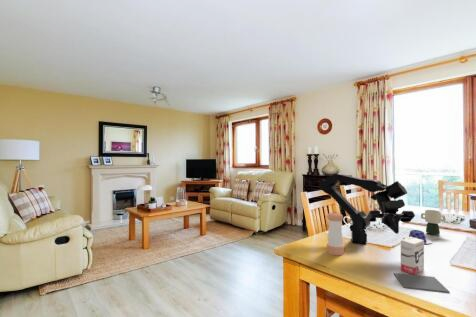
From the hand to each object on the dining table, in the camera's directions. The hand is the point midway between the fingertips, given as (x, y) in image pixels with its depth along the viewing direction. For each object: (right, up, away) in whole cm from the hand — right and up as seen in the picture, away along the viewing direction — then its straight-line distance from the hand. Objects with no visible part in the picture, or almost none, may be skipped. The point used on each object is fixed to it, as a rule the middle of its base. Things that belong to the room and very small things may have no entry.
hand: (397, 233), depth 111 cm
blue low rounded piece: (+25, -11, +23) cm, 35 cm away
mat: (-6, -11, -21) cm, 25 cm away
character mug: (+41, -11, +34) cm, 54 cm away
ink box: (-1, -11, -11) cm, 16 cm away
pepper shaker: (-24, -11, +7) cm, 28 cm away
